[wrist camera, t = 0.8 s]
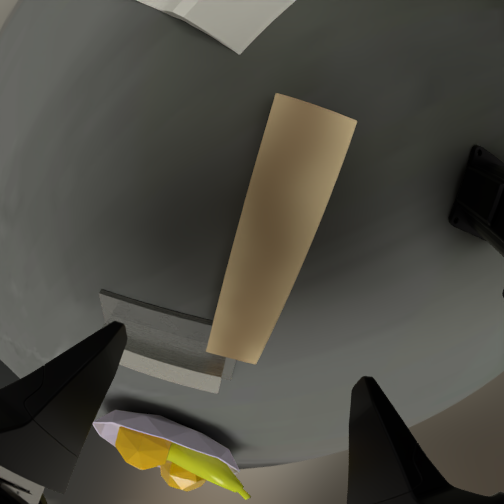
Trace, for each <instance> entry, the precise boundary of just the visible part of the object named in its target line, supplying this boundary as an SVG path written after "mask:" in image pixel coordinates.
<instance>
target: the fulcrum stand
mask: <svg viewBox="0 0 504 504" xmlns="http://www.w3.org/2000/svg"><path fill="white" fill-rule="evenodd" d="M99 297H100V301H101V306H102V311H103V315H104V319H105V324H104V326H103V327H105V326H106V325H108V324H110V323H111V322H113V321H118V322H121V323H123V324H124V325H125V327H126V332H127V344H126V347H125V349H124V352H123V355H122V357H121V360H120V363H119V364H120V365H122V366H125V367H128V368H131V369H133V370H136V371H139V372H142V373H145V374H148V375H151V376H154V377H157V378H160V379H164V380H167V381H170V382H174V383H177V384H181V385H184V386H188V387H192V388H196V389H200V390H204V391H208V392H212V393H217V394H218V391H219V387H220V382H221V379H226V380H230V381H231V377H232V374H233V370H234V366H235V362H236V360H235V359H231V358H227V357H223V356H220V355H216V354H212V353H209V352H206V349H207V345H208V341H209V337H210V333H211V329H212V325H213V321H211V320H207V319H202V318H198V317H194V316H191V315H187V314H183V313H179V312H175V311H172V310H168V309H164V308H161V307H157V306H154V305H150V304H147V303H143V302H140V301H137V300H133V299H130V298H127V297H124V296H121V295H117V294H114V293H111V292H108V291H105V290H101V291H100V292H99ZM103 327H102V328H103Z"/></svg>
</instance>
